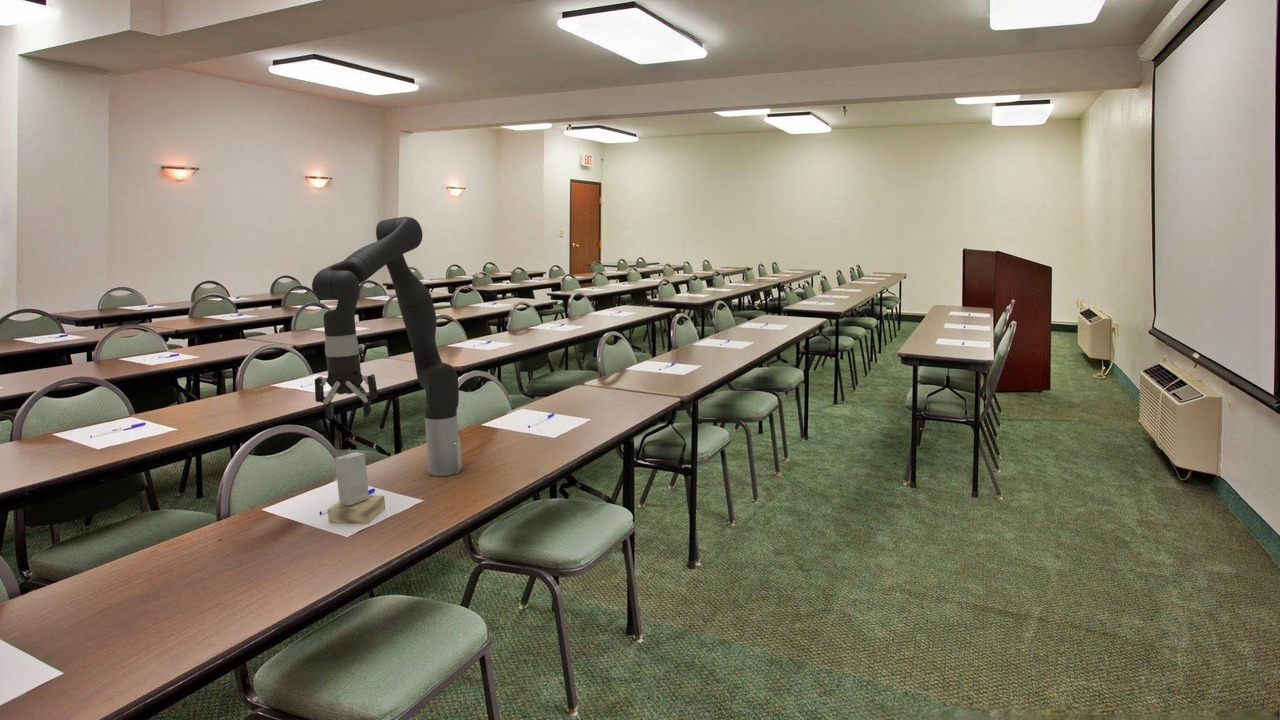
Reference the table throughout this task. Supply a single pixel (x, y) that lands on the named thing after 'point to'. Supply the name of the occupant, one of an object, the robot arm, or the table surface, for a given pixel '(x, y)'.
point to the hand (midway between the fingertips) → (348, 417)
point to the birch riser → (357, 511)
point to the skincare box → (352, 478)
